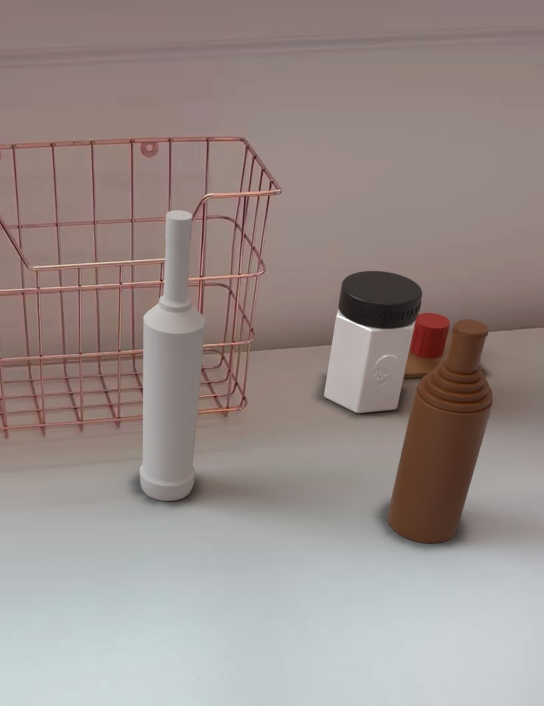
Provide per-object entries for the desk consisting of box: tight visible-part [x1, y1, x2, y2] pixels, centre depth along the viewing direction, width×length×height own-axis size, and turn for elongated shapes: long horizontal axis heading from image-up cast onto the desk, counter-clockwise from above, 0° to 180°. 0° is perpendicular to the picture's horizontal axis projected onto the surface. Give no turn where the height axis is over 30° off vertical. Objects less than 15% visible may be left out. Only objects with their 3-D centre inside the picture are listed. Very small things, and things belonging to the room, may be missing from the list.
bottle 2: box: [386, 318, 494, 544], centre depth 88 cm, size 6×6×19 cm
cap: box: [410, 312, 451, 358], centre depth 117 cm, size 4×4×4 cm
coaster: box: [403, 329, 485, 380], centre depth 118 cm, size 10×10×1 cm
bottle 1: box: [139, 209, 207, 502], centre depth 88 cm, size 5×5×25 cm
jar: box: [323, 270, 423, 414], centre depth 107 cm, size 9×8×12 cm
